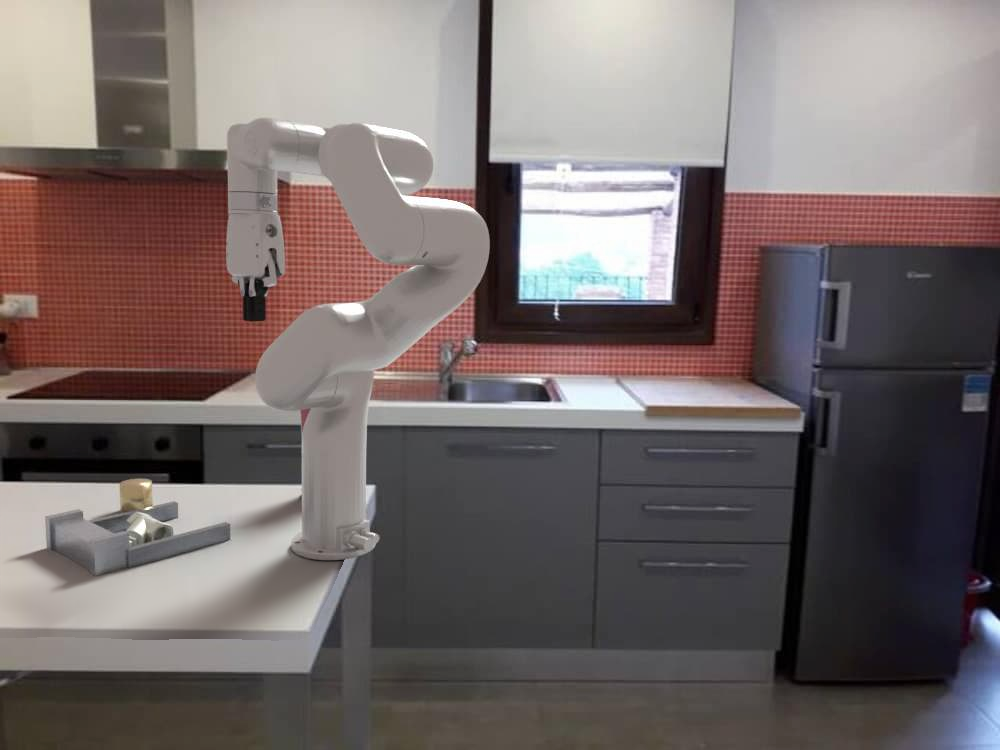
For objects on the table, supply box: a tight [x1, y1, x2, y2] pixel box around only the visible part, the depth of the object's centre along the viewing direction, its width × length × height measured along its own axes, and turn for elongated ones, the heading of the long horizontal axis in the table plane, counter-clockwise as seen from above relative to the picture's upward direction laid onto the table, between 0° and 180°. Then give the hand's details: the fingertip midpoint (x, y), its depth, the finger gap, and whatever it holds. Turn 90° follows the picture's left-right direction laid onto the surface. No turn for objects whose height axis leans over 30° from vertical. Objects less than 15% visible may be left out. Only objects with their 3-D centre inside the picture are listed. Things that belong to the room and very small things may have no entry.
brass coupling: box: [119, 478, 154, 513], centre depth 138 cm, size 5×5×5 cm
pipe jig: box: [44, 501, 231, 576], centre depth 123 cm, size 16×20×5 cm
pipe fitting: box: [124, 512, 175, 547], centre depth 123 cm, size 8×4×7 cm
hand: (254, 320), depth 132 cm, fingers closed
